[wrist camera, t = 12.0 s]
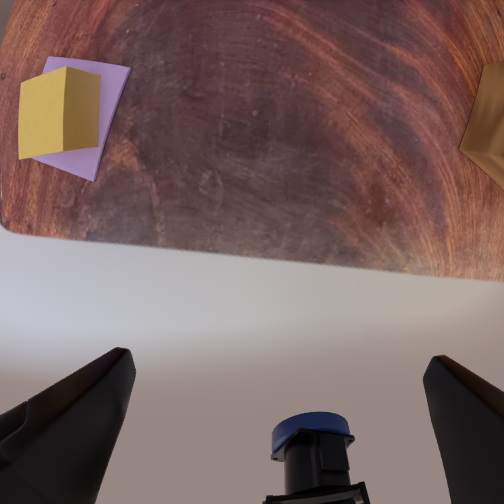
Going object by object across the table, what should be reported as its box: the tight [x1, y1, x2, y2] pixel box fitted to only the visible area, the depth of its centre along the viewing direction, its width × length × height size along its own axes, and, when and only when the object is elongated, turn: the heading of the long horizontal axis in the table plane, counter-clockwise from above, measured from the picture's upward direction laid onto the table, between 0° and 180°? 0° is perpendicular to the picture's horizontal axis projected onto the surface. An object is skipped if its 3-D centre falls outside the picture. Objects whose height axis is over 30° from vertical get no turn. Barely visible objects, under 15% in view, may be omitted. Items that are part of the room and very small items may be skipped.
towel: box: [30, 56, 131, 182], centre depth 16 cm, size 8×8×1 cm
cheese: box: [19, 66, 101, 159], centre depth 14 cm, size 5×4×4 cm
